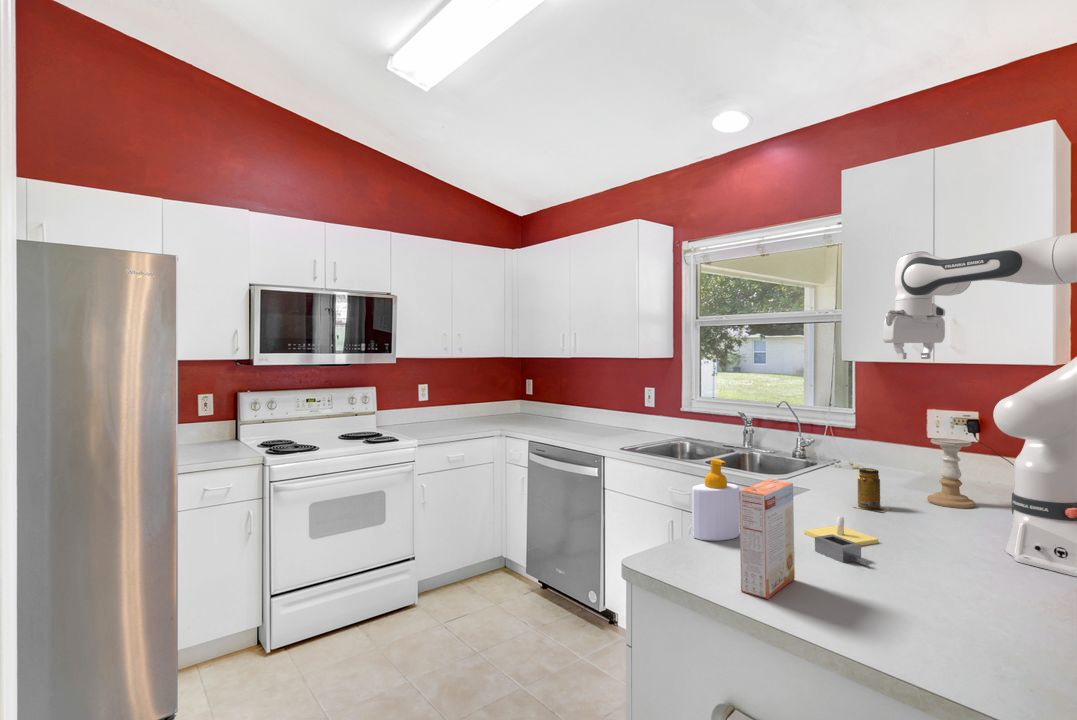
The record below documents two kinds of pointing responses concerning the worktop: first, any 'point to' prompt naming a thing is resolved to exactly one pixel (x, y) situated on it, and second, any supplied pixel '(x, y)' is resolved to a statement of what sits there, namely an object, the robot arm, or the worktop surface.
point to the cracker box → (766, 537)
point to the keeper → (842, 533)
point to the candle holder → (950, 476)
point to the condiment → (869, 490)
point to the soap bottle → (715, 507)
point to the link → (839, 549)
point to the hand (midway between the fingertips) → (913, 359)
